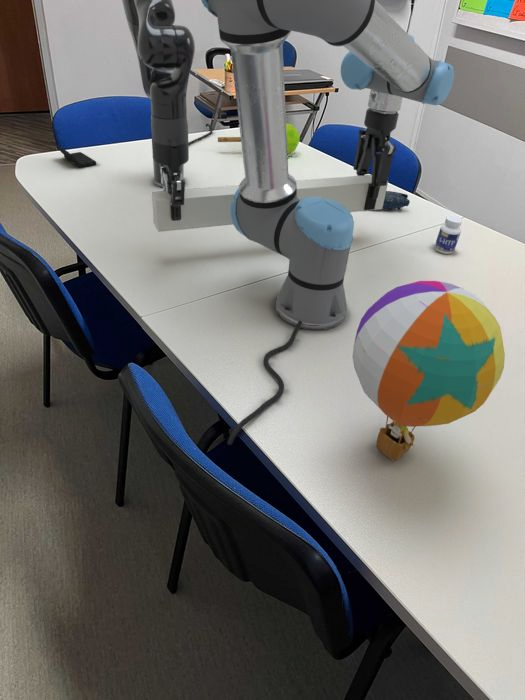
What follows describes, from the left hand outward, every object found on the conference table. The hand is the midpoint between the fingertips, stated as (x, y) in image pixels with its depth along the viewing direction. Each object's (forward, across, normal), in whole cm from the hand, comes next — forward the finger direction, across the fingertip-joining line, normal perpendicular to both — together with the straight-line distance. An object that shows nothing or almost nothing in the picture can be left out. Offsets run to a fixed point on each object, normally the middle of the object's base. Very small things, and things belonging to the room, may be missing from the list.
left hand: (173, 214), depth 118 cm
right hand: (+2, 0, +50) cm, 50 cm away
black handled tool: (+12, -70, -16) cm, 73 cm away
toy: (+12, +68, +19) cm, 72 cm away
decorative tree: (+12, -70, +48) cm, 85 cm away
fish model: (+12, -19, +66) cm, 70 cm away
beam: (+3, 0, +25) cm, 25 cm away
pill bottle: (+12, +11, +71) cm, 73 cm away
